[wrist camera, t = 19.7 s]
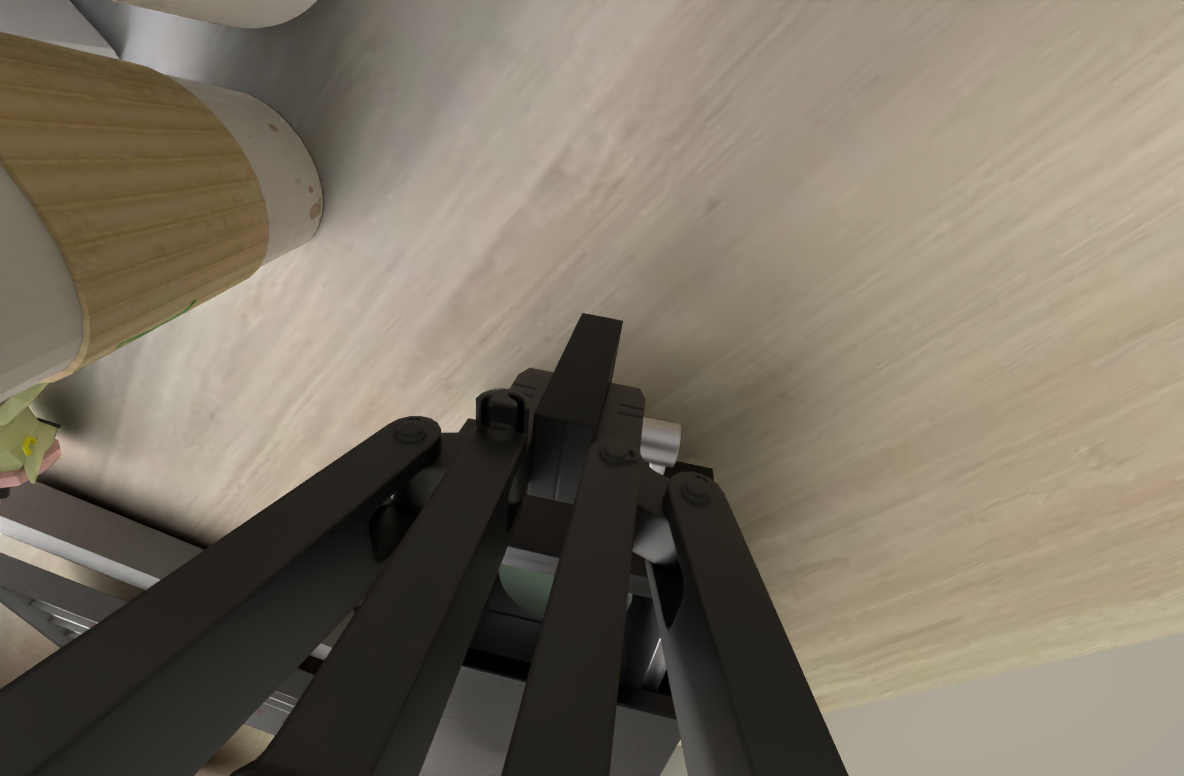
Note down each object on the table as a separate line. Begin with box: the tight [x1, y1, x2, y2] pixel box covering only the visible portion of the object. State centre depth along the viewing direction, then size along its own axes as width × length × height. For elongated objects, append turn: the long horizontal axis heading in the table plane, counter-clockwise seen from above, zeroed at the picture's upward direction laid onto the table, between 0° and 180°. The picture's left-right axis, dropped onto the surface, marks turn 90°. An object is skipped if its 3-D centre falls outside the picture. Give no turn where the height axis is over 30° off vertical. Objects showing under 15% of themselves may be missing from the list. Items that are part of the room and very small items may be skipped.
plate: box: [499, 564, 633, 619], centre depth 24 cm, size 7×7×2 cm
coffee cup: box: [0, 32, 323, 403], centre depth 12 cm, size 10×10×15 cm
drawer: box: [458, 388, 714, 692], centre depth 22 cm, size 21×13×7 cm, turn 173°
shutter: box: [0, 480, 356, 735], centre depth 42 cm, size 32×7×31 cm
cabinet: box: [419, 647, 681, 776], centre depth 28 cm, size 17×14×9 cm
